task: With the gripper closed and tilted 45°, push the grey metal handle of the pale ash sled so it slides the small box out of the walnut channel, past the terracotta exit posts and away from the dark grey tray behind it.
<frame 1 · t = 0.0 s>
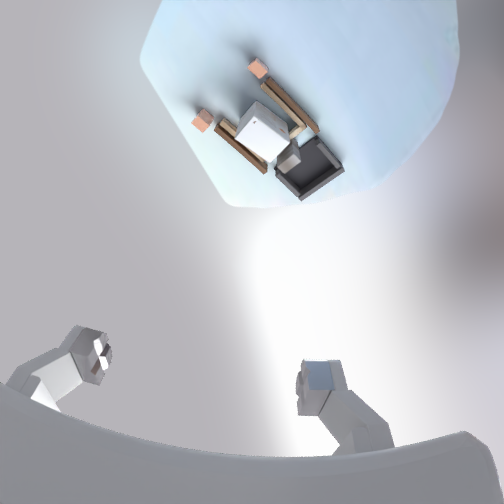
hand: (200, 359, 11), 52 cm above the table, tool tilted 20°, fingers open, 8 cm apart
walnut channel: (267, 124, 54), on the table
small box: (263, 120, 54), on the table
dark grey tray: (308, 165, 60), on the table
exit posts: (230, 91, 50), on the table
ash sled: (266, 132, 51), point 5 cm above the table, slide at 0.0 cm
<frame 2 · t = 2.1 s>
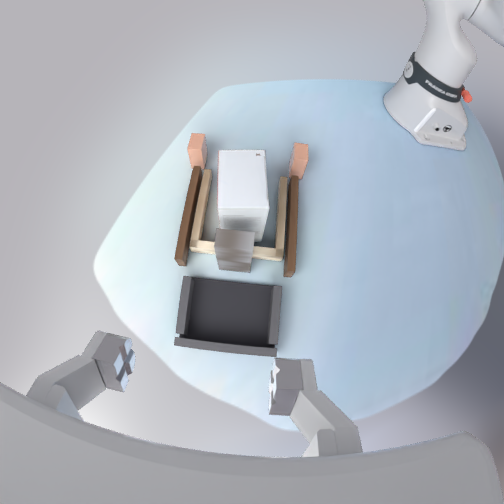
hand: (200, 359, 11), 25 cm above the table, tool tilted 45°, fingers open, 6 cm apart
walnut channel: (240, 223, 41), on the table
small box: (240, 217, 41), on the table
dark grey tray: (229, 316, 36), on the table
exit posts: (247, 165, 44), on the table
ash sled: (240, 207, 36), point 5 cm above the table, slide at 0.0 cm
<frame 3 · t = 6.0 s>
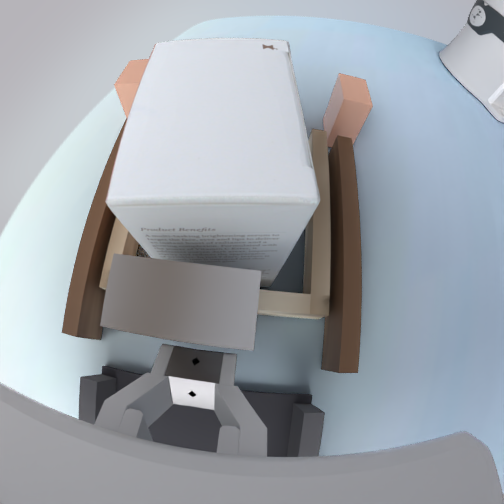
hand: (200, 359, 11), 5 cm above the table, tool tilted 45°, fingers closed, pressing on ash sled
walnut channel: (221, 241, 17), on the table
small box: (224, 226, 18), on the table
dark grey tray: (197, 456, 13), on the table
exit posts: (240, 120, 21), on the table
ash sled: (219, 186, 13), point 5 cm above the table, slide at 0.9 cm, touching gripper
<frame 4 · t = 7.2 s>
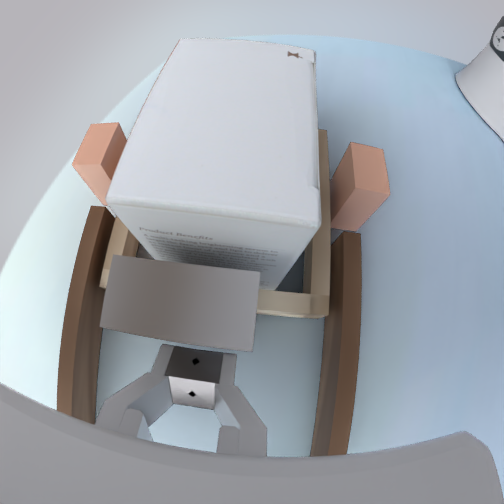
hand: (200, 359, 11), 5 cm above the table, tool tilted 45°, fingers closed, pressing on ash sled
walnut channel: (206, 356, 15), on the table
small box: (232, 230, 18), on the table, touching ash sled
exit posts: (228, 194, 18), on the table
ash sled: (219, 186, 13), point 5 cm above the table, slide at 7.7 cm, touching gripper, small box
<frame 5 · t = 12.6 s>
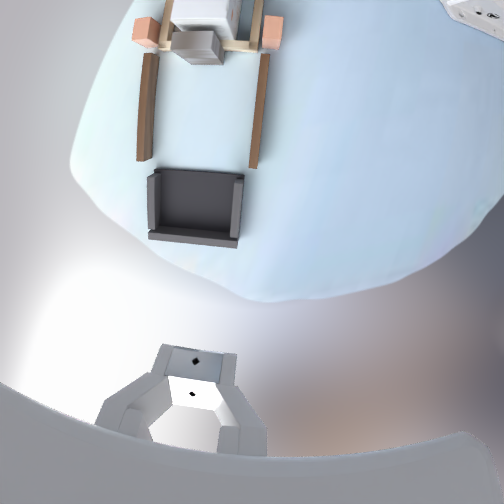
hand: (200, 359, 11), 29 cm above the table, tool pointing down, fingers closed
walnut channel: (203, 106, 33), on the table
small box: (218, 18, 27), on the table
dark grey tray: (196, 204, 38), on the table
exit posts: (211, 35, 28), on the table
ash sled: (207, 5, 23), point 5 cm above the table, slide at 12.7 cm
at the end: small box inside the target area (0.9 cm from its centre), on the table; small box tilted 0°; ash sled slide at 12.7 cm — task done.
